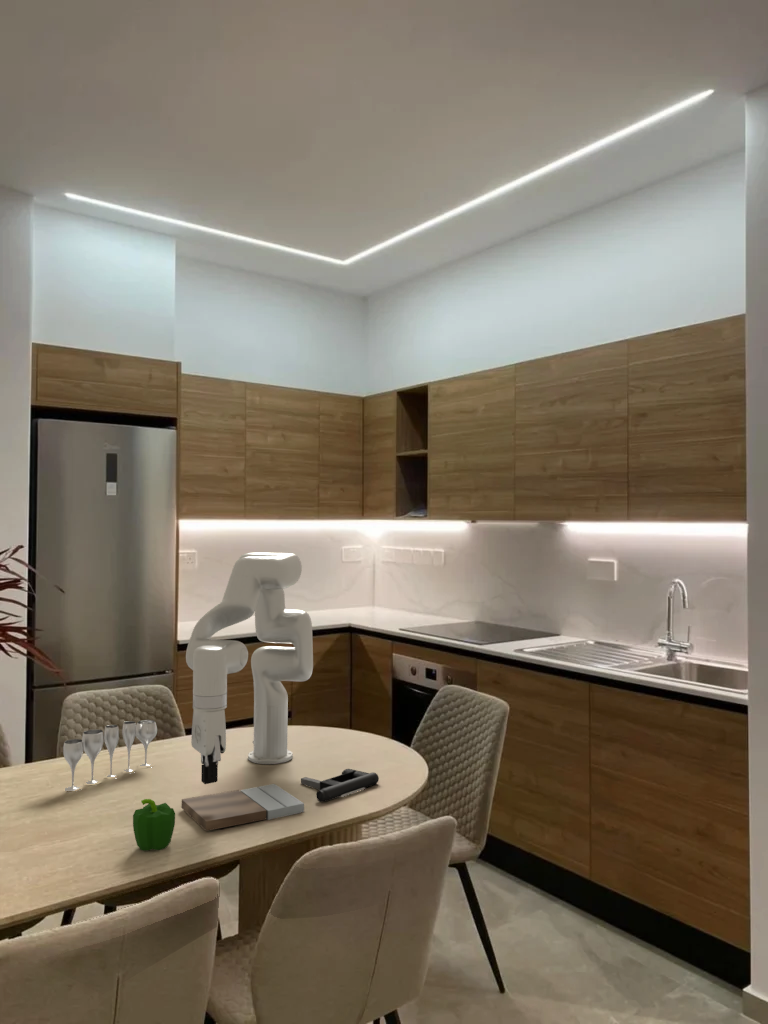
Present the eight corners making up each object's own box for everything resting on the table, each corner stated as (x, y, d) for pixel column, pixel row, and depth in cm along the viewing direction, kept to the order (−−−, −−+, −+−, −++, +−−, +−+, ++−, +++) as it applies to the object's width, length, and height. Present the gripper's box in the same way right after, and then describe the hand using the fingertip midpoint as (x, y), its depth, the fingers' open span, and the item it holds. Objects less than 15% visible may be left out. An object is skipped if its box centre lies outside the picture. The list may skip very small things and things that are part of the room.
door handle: (283, 780, 195) (326, 792, 185) (340, 763, 210) (384, 773, 199) (283, 794, 195) (327, 806, 184) (340, 775, 210) (384, 786, 199)
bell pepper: (177, 838, 164) (178, 790, 165) (171, 854, 156) (172, 804, 157) (136, 839, 163) (137, 791, 164) (128, 856, 155) (129, 805, 156)
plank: (181, 807, 180) (181, 799, 180) (238, 798, 188) (238, 789, 188) (205, 830, 167) (206, 821, 167) (265, 819, 175) (266, 810, 175)
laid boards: (240, 798, 188) (240, 789, 188) (274, 791, 193) (274, 783, 193) (268, 819, 175) (268, 810, 175) (303, 811, 180) (303, 802, 180)
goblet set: (71, 794, 191) (72, 739, 191) (57, 789, 194) (58, 736, 194) (161, 765, 214) (161, 716, 214) (147, 761, 217) (147, 713, 217)
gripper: (182, 696, 180) (182, 775, 180) (205, 710, 168) (205, 795, 168) (213, 692, 184) (213, 770, 184) (238, 705, 172) (237, 788, 172)
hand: (209, 781), depth 176 cm, fingers closed
